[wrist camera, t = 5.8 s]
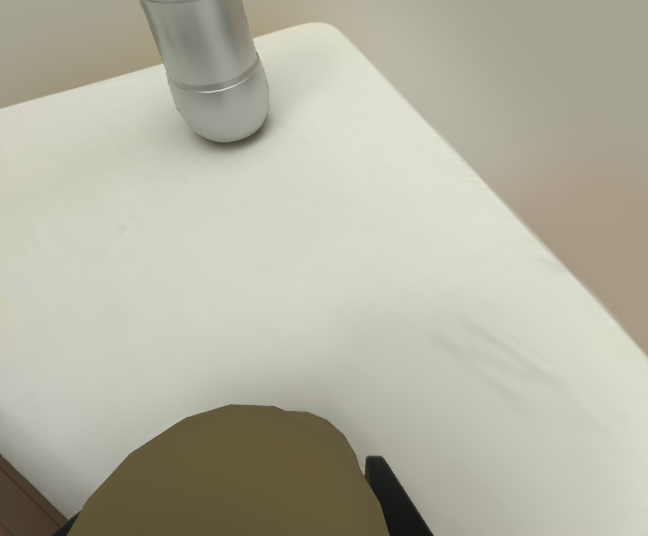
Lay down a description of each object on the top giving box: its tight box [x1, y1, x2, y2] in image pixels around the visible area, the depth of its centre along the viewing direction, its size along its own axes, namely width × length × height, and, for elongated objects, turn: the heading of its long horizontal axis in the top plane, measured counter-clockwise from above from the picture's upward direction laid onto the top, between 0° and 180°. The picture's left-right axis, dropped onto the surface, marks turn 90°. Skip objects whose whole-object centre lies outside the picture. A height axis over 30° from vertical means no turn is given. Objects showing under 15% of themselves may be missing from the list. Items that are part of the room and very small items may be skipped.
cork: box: [67, 404, 390, 536], centre depth 8 cm, size 6×6×11 cm
